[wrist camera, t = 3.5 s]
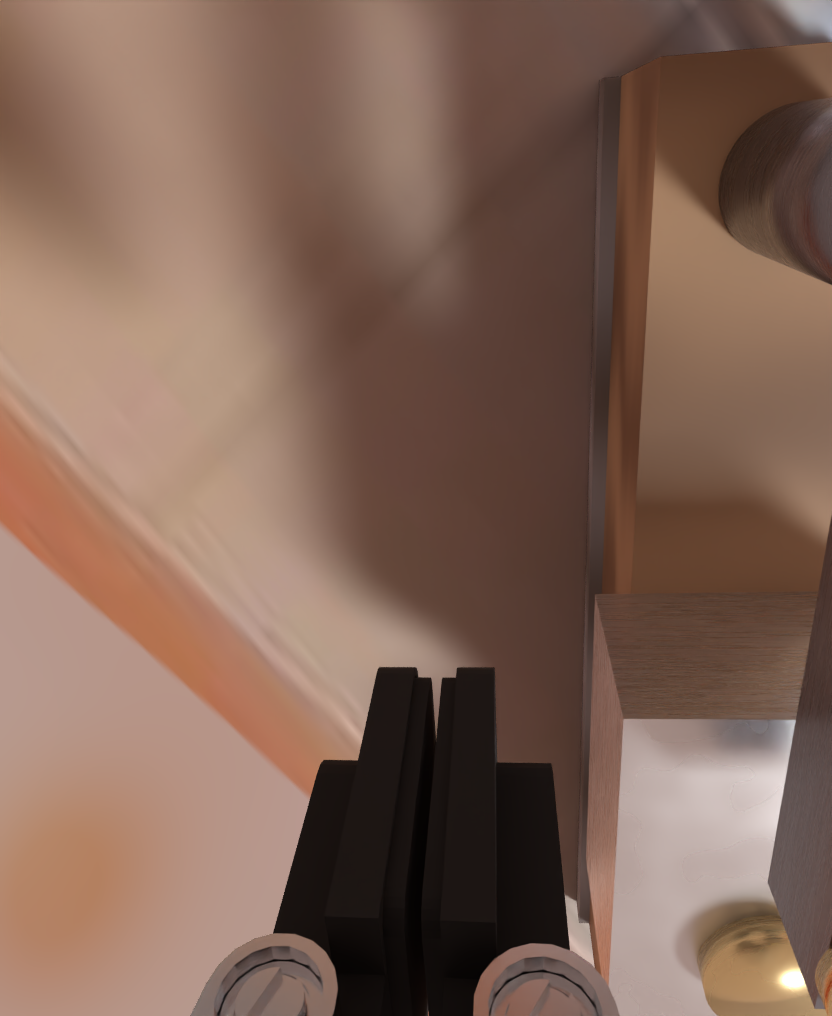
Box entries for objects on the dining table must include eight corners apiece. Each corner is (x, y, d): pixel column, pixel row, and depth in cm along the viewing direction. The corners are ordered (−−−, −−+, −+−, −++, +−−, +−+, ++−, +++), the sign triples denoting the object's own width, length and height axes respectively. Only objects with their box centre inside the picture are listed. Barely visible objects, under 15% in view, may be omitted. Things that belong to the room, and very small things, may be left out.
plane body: (599, 80, 17) (679, 35, 10) (850, 59, 16) (1133, -6, 9) (576, 902, 28) (606, 1167, 21) (726, 907, 27) (811, 1182, 20)
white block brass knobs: (594, 593, 17) (628, 743, 13) (891, 590, 16) (1029, 746, 12) (585, 859, 20) (610, 1046, 16) (830, 865, 19) (922, 1062, 15)
